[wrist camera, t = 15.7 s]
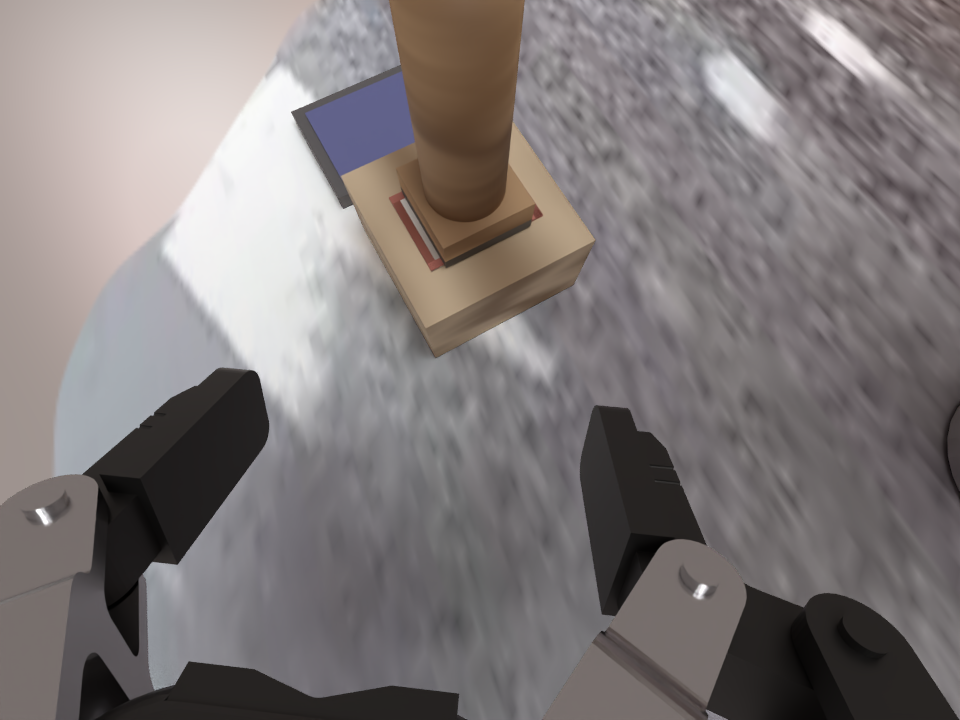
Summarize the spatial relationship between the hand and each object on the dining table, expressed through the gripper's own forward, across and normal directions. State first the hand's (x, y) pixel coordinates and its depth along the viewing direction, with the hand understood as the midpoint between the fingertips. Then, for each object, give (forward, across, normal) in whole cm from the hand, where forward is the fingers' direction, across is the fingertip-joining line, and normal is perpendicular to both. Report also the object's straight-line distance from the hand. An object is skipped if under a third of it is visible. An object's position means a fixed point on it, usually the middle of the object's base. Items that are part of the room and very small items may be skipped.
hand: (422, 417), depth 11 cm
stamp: (+13, 0, -2) cm, 14 cm away
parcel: (+17, 0, +2) cm, 17 cm away
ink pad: (+23, +6, -4) cm, 24 cm away
